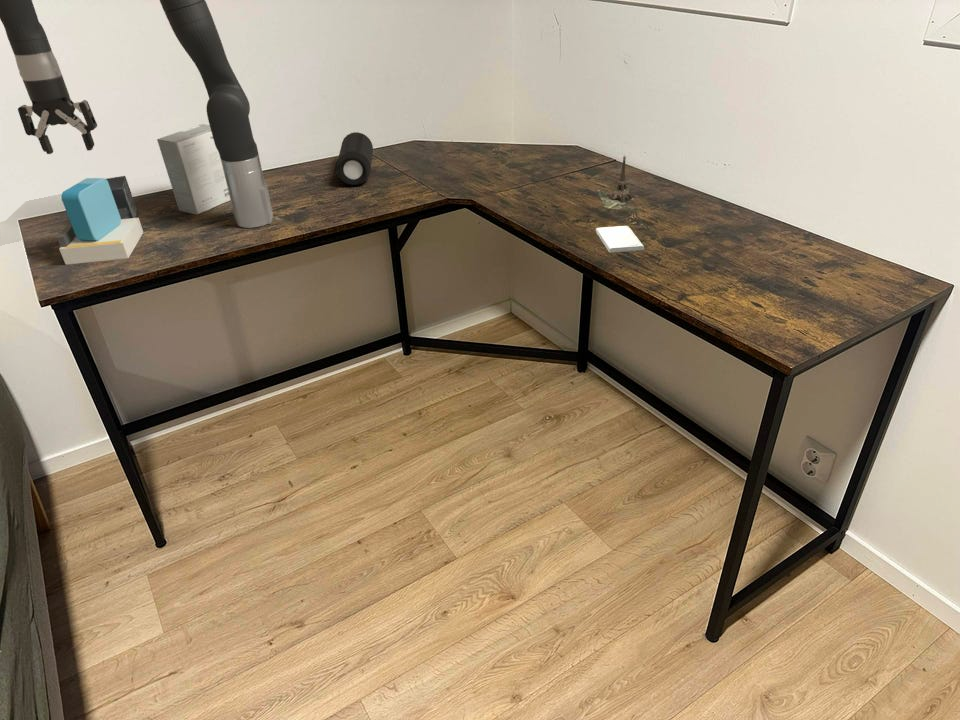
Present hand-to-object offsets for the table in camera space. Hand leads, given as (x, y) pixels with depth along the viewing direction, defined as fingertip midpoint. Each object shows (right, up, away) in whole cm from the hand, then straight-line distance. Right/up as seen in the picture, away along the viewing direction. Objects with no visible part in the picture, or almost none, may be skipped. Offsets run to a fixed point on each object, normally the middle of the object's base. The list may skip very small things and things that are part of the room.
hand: (70, 151), depth 152 cm
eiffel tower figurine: (+131, -4, +30) cm, 134 cm away
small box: (-3, -10, +28) cm, 30 cm away
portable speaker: (+55, +10, +55) cm, 79 cm away
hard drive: (+126, -20, +8) cm, 128 cm away
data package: (+1, -17, +11) cm, 20 cm away
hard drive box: (+17, -4, +37) cm, 41 cm away
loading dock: (+1, -20, +13) cm, 24 cm away
